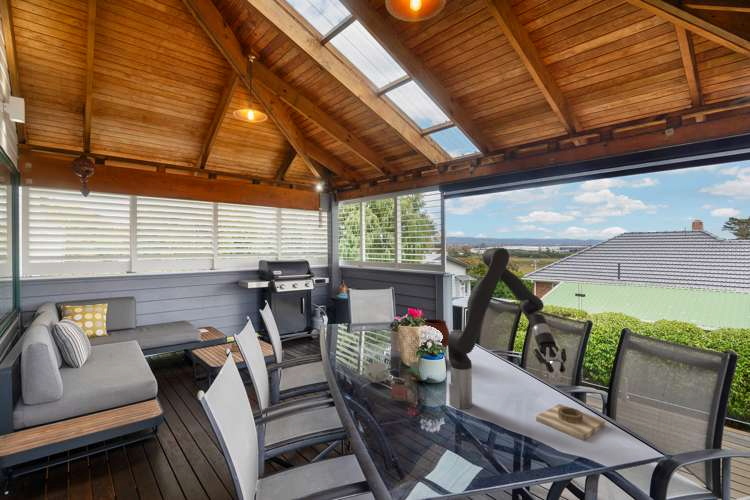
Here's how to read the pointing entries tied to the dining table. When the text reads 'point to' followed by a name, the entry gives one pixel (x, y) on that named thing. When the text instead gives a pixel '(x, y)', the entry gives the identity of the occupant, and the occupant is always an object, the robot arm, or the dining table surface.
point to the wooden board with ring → (571, 421)
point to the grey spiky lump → (376, 372)
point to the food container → (415, 371)
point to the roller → (555, 371)
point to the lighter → (399, 389)
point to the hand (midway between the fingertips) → (557, 371)
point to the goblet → (439, 328)
